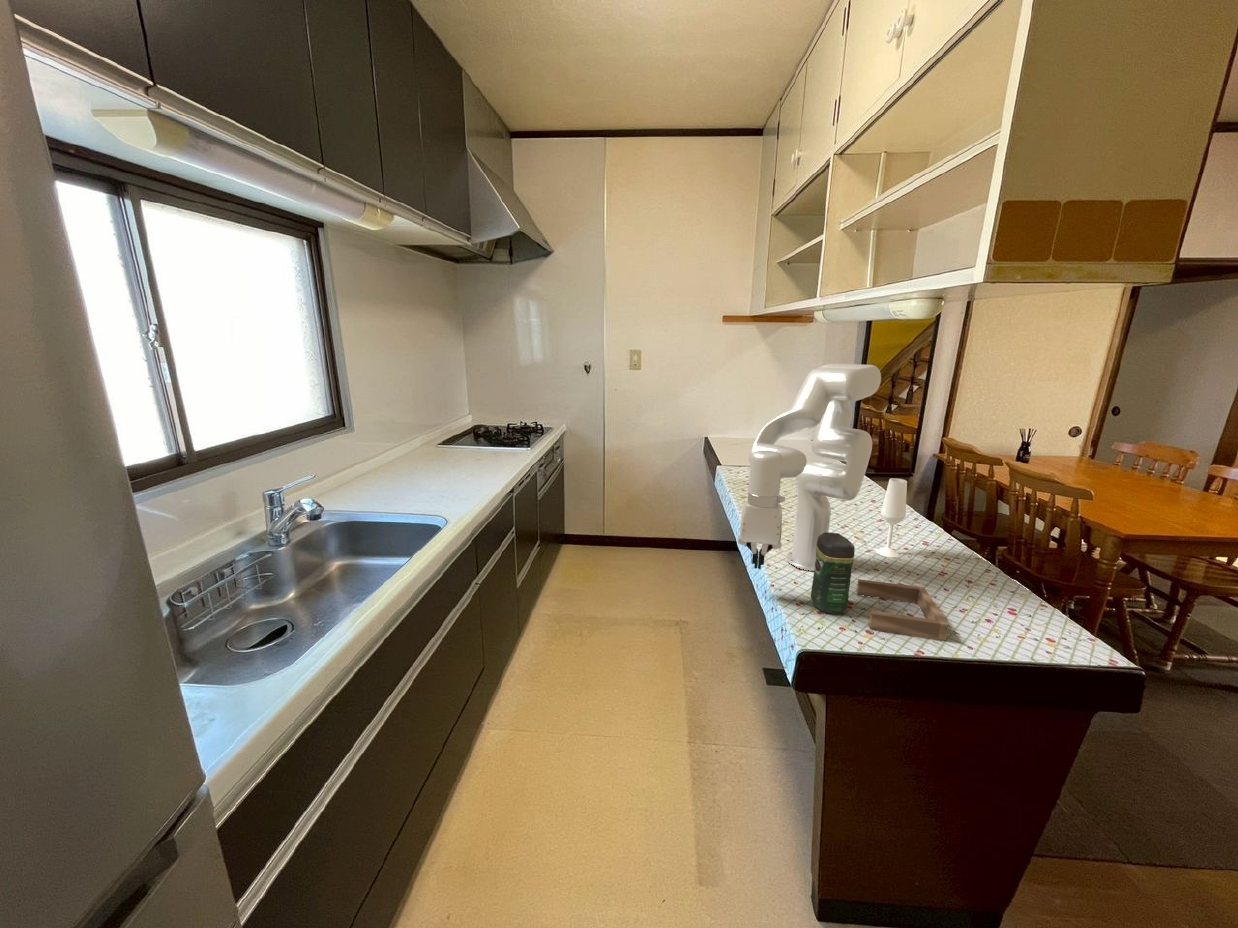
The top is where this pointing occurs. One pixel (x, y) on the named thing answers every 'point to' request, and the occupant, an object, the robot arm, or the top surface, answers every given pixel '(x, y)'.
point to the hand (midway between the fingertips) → (757, 566)
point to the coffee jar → (832, 573)
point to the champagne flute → (893, 511)
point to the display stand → (901, 624)
